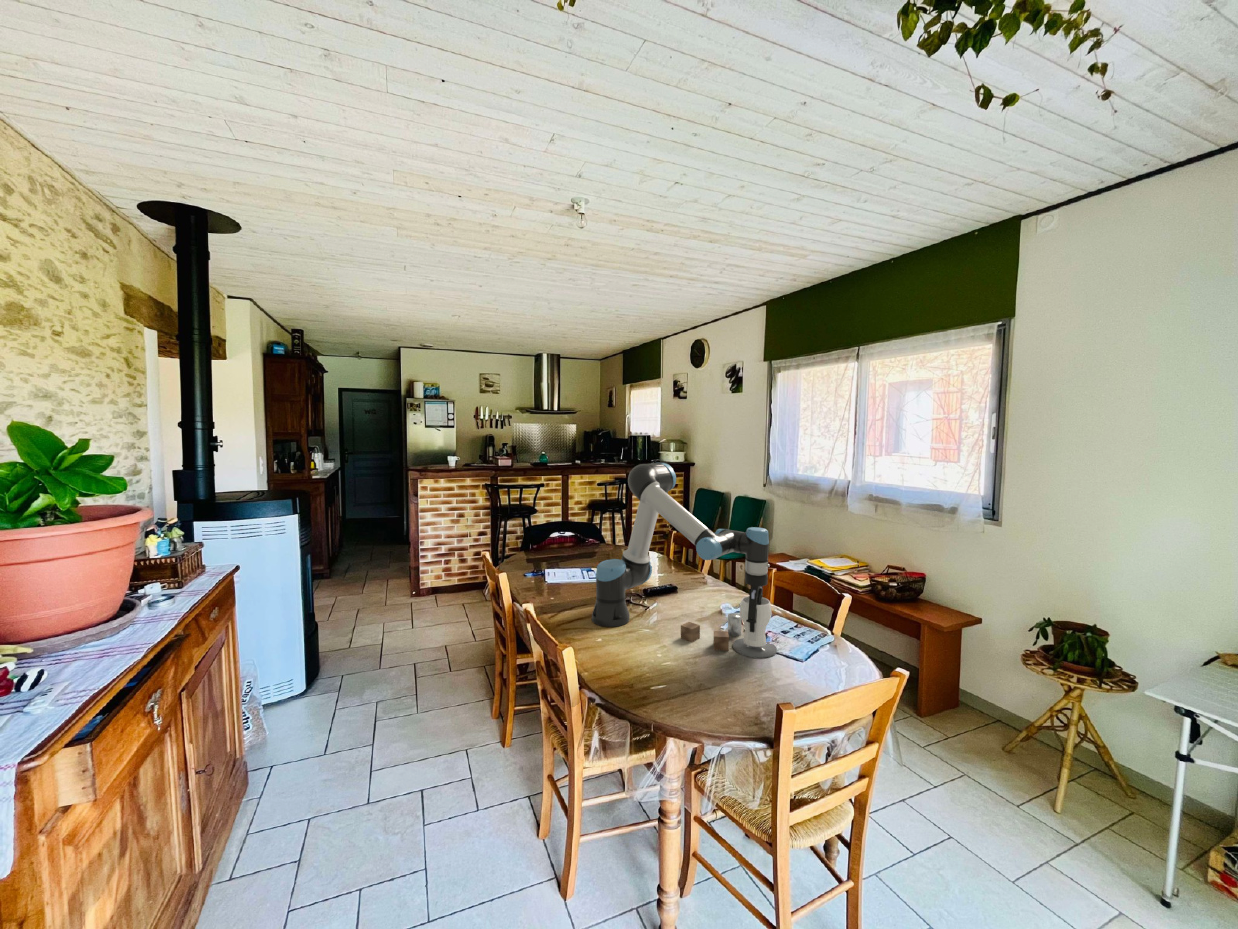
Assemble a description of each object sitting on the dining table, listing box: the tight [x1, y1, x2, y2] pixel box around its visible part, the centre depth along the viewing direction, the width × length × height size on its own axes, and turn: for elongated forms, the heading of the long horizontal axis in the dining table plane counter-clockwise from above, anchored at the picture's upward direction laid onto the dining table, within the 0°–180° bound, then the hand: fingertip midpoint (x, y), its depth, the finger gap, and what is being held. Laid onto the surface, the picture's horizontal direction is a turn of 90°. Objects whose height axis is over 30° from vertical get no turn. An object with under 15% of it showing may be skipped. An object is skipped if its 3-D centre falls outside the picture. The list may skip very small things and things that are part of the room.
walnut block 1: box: [680, 621, 701, 643], centre depth 188 cm, size 5×5×5 cm
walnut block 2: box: [713, 630, 730, 652], centre depth 180 cm, size 5×5×5 cm
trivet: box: [732, 637, 778, 659], centre depth 179 cm, size 15×15×1 cm
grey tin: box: [727, 612, 743, 637], centre depth 192 cm, size 5×5×7 cm
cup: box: [739, 595, 772, 647], centre depth 179 cm, size 11×11×15 cm
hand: (754, 634), depth 179 cm, fingers closed on cup, 10 cm apart
